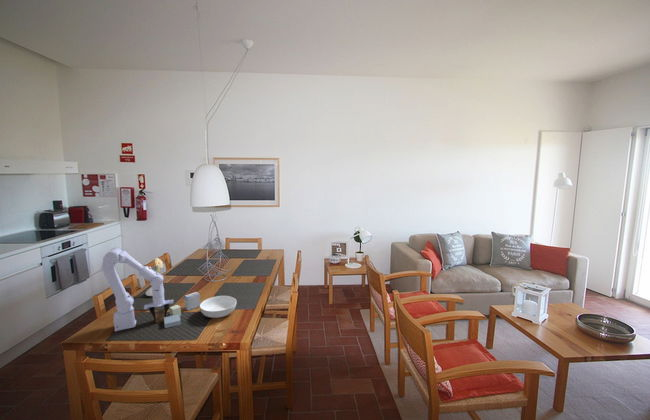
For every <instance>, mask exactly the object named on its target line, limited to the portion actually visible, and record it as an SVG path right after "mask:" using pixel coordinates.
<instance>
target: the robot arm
mask: <svg viewBox="0 0 650 420" xmlns="http://www.w3.org/2000/svg"><path fill="white" fill-rule="evenodd" d="M116 264H126V265H128V266H130V267H132V269H135V270H136V271H138V275H139V276H141V277H142V278H143V279H145V280H146V281H147V282H149V283H150V284H149V285H150V286H151V287H152V295H153V296H152V302H149V303H147V304H143V309H144V310H147V309H148V310H149V312H150V314H152V317H153V320H154V321H156V318H155V311H156V309H155V308H160V307H162V306H163V309H164V316H165V317H167V314H168V310H169V309H170V305H174V299H166V300H165V288H164V282H163V281H164V278H165V277H164V276H163V273H159V271H158V272H157V271H156V270H154V269H152V267H151V266H147V265H143V264H141V262H139V261H137V260H136V259H135V258H134V257H133V256H131V255H130V254H129V253H128V251H126V250H123V248H121V247H117V246H115V247H113V248H112V249H110V251H109V252H107V253H105V254H104V256H103V257H102V263H101V270H102V273H103V275H104V277H105V279H106V281H107V283H108V284H109V287H110V289H111V291H112V293H113V295H114V297H115V305H116V312H113V326H114V332H119V331H123V330H127V329H128V330H129V329H131V328H135V327H137V326H136V325H137V319H136V318H135V307H134V306H133V304H134V303H135V299H134V297H133V296H132V295H130V293H129V292H127V291H126V289H125V286H124V285H123V283H122V280H121V278H120V276H119V274H118V272H117V269H116V268H115V266H116Z"/></svg>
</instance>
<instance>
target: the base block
mask: <svg viewBox="0 0 650 420" xmlns="http://www.w3.org/2000/svg"><path fill="white" fill-rule="evenodd" d="M181 321H182V320H181V316H180V314H178V315H173V316H170V315H169V316H166V317H164V322H163V323H164V329H168V328H169V329H170V328H173V327H177V326H181V324H182V322H181Z"/></svg>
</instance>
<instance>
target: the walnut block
mask: <svg viewBox="0 0 650 420" xmlns="http://www.w3.org/2000/svg"><path fill="white" fill-rule="evenodd" d="M164 317H165V316H164V308H162V309H157V310H155V318H156V320H155V324H159V323H164Z"/></svg>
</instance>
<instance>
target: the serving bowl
mask: <svg viewBox="0 0 650 420" xmlns="http://www.w3.org/2000/svg"><path fill="white" fill-rule="evenodd" d="M236 306H237V299H236V298H235V297H232V296H231V295H230V296H229V295H217V296H212V297H209V298H206V299H205V300H203V301H201V302H200V306H199V309H200V312H201V313H202V314H203V315H204V316H205V317H208V318H211V319H212V318H213V319H216V318H223V317H226V316H229V315H230V314H232V312H234V311H235V309H236Z"/></svg>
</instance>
